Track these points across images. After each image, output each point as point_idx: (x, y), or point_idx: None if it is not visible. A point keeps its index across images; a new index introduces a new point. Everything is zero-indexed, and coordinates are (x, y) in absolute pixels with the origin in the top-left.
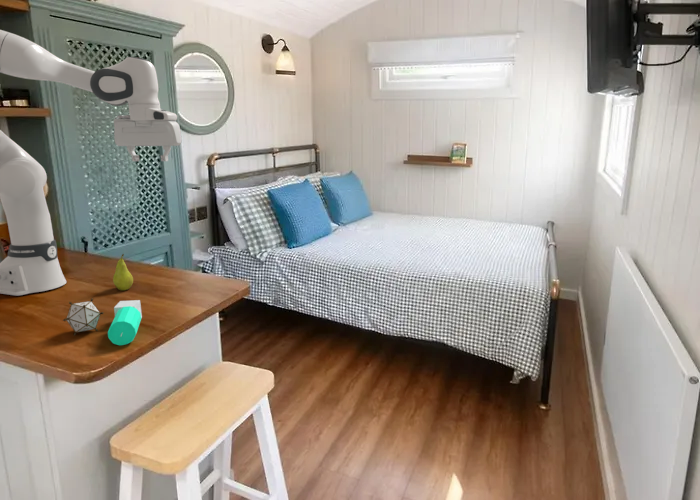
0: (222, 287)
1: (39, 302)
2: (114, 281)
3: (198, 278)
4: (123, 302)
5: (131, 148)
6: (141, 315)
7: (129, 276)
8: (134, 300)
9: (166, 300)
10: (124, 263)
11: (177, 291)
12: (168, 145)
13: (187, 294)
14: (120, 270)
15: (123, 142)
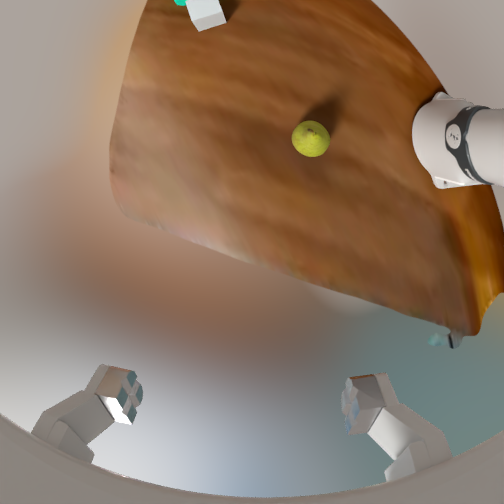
0: (139, 179)
1: (404, 81)
2: (319, 123)
3: (204, 222)
4: (212, 8)
5: (409, 456)
6: (197, 29)
7: (295, 135)
8: (200, 17)
9: (198, 98)
10: (308, 136)
11: (203, 144)
12: (7, 420)
13: (178, 133)
14: (310, 126)
15: (489, 468)
